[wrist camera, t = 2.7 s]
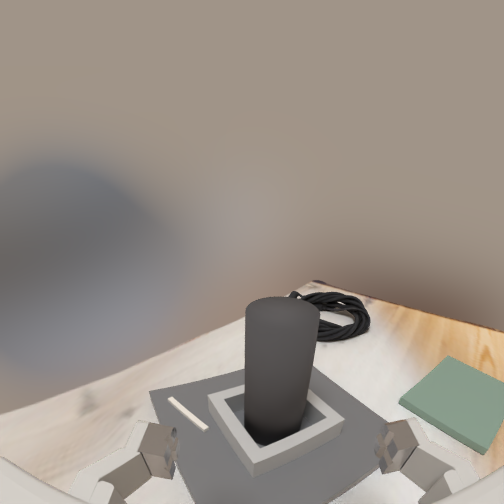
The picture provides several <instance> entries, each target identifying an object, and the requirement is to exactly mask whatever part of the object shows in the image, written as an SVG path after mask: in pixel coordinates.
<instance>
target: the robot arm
mask: <svg viewBox="0 0 504 504" xmlns="http://www.w3.org/2000/svg"><path fill="white" fill-rule="evenodd" d="M379 430H380V432H381V433H379V434H378V435H377V436H376V438H375V440H374V445H373V448H374V453H375V456H377V457H378V458H380V460H379V463H378V464H379V467H380V469H381V472H382V474H387V473H391V472H395V471H399V470H400V472H401V473H402V474H404V475H405V476H406V477H407V478H409V479H410V480H411V481H412V482H414V483H415V484H416V485H417V486H419V487H420V488H421V489H423V490H424V491H425V492H426V493H425V494H424V495H423V496H422V497H421V498H420V500H419V501H418V503H419V504H504V465H503V466H502V467H500V468H499V469H497V470H496V471H494V472H492V473H491V474H489V475H487V476H486V477H484V478H482V479H480V478H479V476H478V474H477V472H476V471H475V469H474V467H473V466H472V464H471V462H470V461H469V460H467V459H465V458H463V457H461V456H459V455H457V454H455V453H453V452H451V451H450V450H448V449H446V448H444V447H442V446H440V445H438V444H436V443H435V442H430V441H429V440H428V438H427V436H426V434H425V432H424V431H423V429H422V427H421V425H420V424H419V422H418V420H417V419H416V418H415V417H413V418H409V419H405V420H399V421H395V422H390V423H385V424H383V425H382V426H381V427H380V429H379ZM176 434H177V431H176V427H171V426H165V425H160V424H155V423H151V422H146V421H141V420H138V421H137V422H136V424H135V426H134V428H133V430H132V432H131V435H130V437H129V439H128V441H127V444H126V446H125V448H120V449H118V450H116V451H115V452H113V453H111V454H109V455H108V456H106V457H104V458H102V459H100V460H99V461H97V462H95V463H93V464H91V465H89V466H88V467H86V468H84V469H82V470H80V471H79V472H78V474H77V476H76V478H75V480H74V482H73V484H72V485H71V487H70V489H69V491H68V493H65V492H63V491H61V490H59V489H57V488H55V487H53V486H51V485H50V484H48V483H46V482H44V481H42V480H40V479H39V478H37V477H35V476H33V475H32V474H30V473H28V472H27V471H25V470H23V469H22V468H20V467H19V466H17V465H15V464H14V463H12V462H11V461H9V460H8V459H6V458H4V457H0V504H127V503H126V502H125V501H124V499H125V498H127V497H128V496H129V495H131V494H132V493H133V492H134V491H136V490H137V489H138V488H139V487H141V486H142V485H143V484H144V483H145V482H147V481H148V480H149V479H150V478H151V477H152V476H154V477H160V478H165V479H171V480H172V479H173V476H174V472H175V468H176V467H175V464H174V461H176V460H177V459H178V456H179V450H180V443H179V439H178V438H177V437H176Z"/></svg>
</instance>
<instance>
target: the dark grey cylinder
mask: <svg viewBox="0 0 504 504" xmlns="http://www.w3.org/2000/svg"><path fill="white" fill-rule="evenodd" d="M319 320H320V311H319V310H318V308H317V307H315V306H314V305H313V304H311V303H309V302H307V301H304V300H301V299H297V298H291V297H268V298H262V299H258V300H256V301H253V302H252V303H250V304H249V305H248V306H247V308H246V316H245V387H244V428H245V430H246V431H247V432H248V434H249V435H250V436H251V438H252V439H253V440H254V442H255V443H257V444H260V445H263V446H268V445H270V444H272V443H275V442H277V441H279V440H282V439H284V438H286V437H288V436H291V435H293V434H295V433H297V432H299V431H300V428H301V424H302V419H303V414H304V409H305V404H306V399H307V394H308V389H309V383H310V378H311V372H312V366H313V360H314V354H315V348H316V341H317V334H318V327H319Z"/></svg>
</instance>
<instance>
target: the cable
mask: <svg viewBox="0 0 504 504" xmlns="http://www.w3.org/2000/svg"><path fill="white" fill-rule="evenodd" d="M298 295H299V296H300V297H301V300H304V301H307V302H309V303H311V304H313V305H314V306H315V307H317V308H318V310H319V311H322V310H328V311H331V310H332V311H342V310H347V311H348V312H350V313H351V314H352V315H354V316H355V323H354V324H350V325H346V326H343V327H342V326H340V325H337V324H334V323H331V322H327V321H324V320H322V319H320V320H319V327H318V334H317V340H340V339H343V338H350V337H352V336H356V335H360V334H362V333H364V332H365V331H366V330H367V329H368V328H369V326H370V317H369V315H368V312H367V310H366V309H365V308H364V305H363V303H362V302H361V301H360V300H359V299H358V298H357V297H354V296H349V295H344V294H342V293H338V292H326V293H323V292H317V293H312V294H308V295H306V296H302V295H301V294H299V293H298V292H296V291H293V292H291V294H290V295H289V297H291V298H297V296H298ZM338 302H342V303H344V304H346V305H343V304H340V303H338ZM336 307H338V308H340V309H334V308H336Z"/></svg>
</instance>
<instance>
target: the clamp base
mask: <svg viewBox="0 0 504 504" xmlns="http://www.w3.org/2000/svg"><path fill="white" fill-rule="evenodd" d="M244 387H245V369H242V370H238V371H235V372H231V373H227V374H224V375H220V376H216V377H212V378H208V379H204V380H200V381H196V382H191V383H187V384H183V385H178V386H173V387H168V388H164V389H158V390H153V391H149V393H150V397H151V401H152V404H153V407H154V410H155V412H156V415H157V418H158V421H159V423H160V425H165V426H171V427H176V431H177V434H176V437H177V438H178V439H179V443H180V450H179V456H178V459H177V460H176V461H175V463H176V465H177V467H178V470H179V472H180V474H181V476H182V478H183V480H184V482H185V484H186V487H187V489H188V491H189V493H190V495H191V496H192V498H193V500H194V502H195V504H328V503H329V502H331V501H332V500H334V499H336V498H337V497H339V496H340V495H342V494H343V493H345V492H346V491H348V490H349V489H351V488H352V487H354V486H355V485H356V484H358V483H359V482H361V481H362V480H363V479H365V478H366V477H367V476H369V475H370V474H371V473H373V472H374V471H375V470H376V469H378V468H379V464H378V463H379V460H380V458H378V457H377V456H375V453H374V448H373V445H374V440H375V438H376V436H377V435H378V434H379V433H381V432H380V430H379V429H380V427H381V426H382V425H383V424H385V423H389V422H387V421H386V420H384V419H383V418H382V417H380V416H379V415H377V414H376V413H375V412H373V411H372V410H370V409H369V408H368V407H366V406H365V405H364V404H362V403H361V402H360V401H358V400H357V399H356V398H354V397H353V396H352V395H350V394H349V393H348V392H346V391H345V390H344V389H342V388H341V387H340V386H338V385H337V384H336V383H334V382H333V381H332V380H330V379H329V378H328V377H327V376H325V375H324V374H323V373H321V372H320V371H319V370H318V369H316V368H315V367H314V366H312V372H311V378H310V383H309V389H308V394H307V399H306V404H305V409H304V414H303V419H302V424H301V428H300V431H299V432H297V433H295V434H293V435H291V436H288V437H286V438H284V439H282V440H279V441H277V442H275V443H272V444H270V445H268V446H263V445H260V444H257V443H255V442H254V440H253V439H252V438H251V436H250V435H249V434H248V432H247V431H246V430H245V428H244Z"/></svg>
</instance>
